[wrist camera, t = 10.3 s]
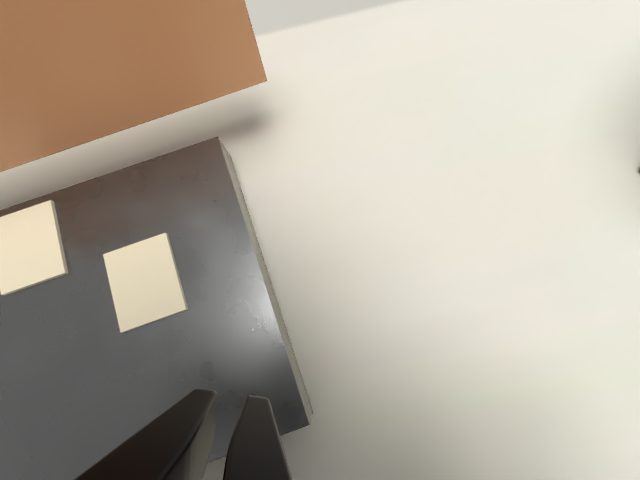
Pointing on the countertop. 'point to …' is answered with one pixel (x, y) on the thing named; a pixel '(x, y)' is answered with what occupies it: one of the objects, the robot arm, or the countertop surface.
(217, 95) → the peach rectangular plank
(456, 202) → the countertop surface
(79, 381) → the plate
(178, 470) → the robot arm
